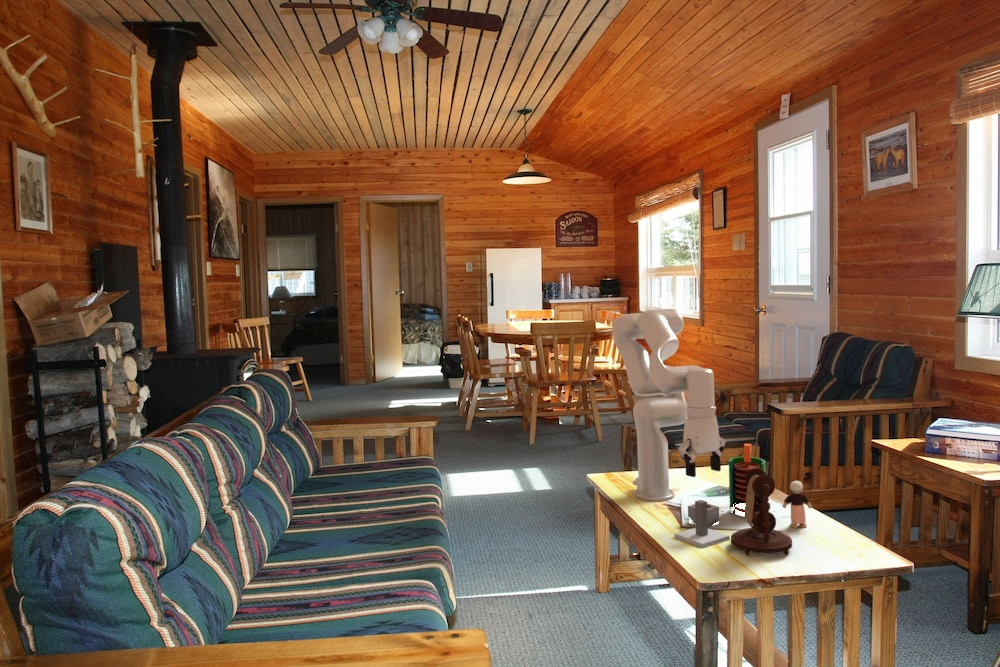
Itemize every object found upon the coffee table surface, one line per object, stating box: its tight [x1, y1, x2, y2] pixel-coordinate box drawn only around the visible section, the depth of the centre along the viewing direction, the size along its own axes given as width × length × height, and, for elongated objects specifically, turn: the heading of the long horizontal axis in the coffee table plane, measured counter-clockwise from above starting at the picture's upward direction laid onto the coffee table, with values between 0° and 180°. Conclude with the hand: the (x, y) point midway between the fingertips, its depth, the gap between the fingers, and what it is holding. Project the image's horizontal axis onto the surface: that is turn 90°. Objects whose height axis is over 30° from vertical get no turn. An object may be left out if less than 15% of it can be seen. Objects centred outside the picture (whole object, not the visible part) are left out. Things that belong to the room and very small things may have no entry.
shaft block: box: [674, 499, 731, 548], centre depth 199 cm, size 10×10×10 cm
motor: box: [728, 443, 767, 512], centre depth 218 cm, size 10×9×20 cm
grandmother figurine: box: [782, 480, 813, 529], centre depth 205 cm, size 8×4×13 cm, turn 97°
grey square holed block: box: [687, 502, 720, 529], centre depth 211 cm, size 6×6×5 cm
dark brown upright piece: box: [730, 468, 793, 557], centre depth 190 cm, size 15×15×20 cm
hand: (703, 473), depth 209 cm, fingers open, 9 cm apart
